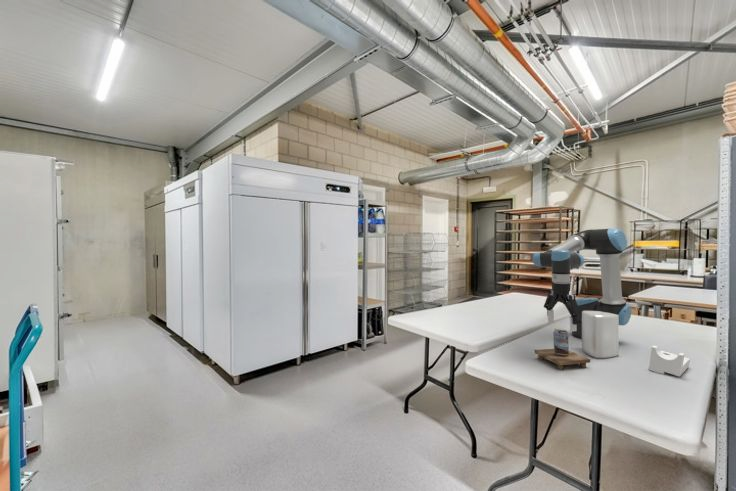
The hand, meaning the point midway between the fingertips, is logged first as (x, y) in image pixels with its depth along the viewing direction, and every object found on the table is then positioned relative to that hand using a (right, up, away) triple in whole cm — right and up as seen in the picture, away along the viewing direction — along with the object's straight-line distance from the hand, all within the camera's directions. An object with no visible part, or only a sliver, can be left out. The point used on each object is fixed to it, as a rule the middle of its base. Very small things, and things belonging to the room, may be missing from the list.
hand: (561, 327), depth 150 cm
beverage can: (0, -13, 0) cm, 13 cm away
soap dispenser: (+25, -17, +10) cm, 31 cm away
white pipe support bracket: (+43, -17, -8) cm, 47 cm away
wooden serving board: (0, -17, 0) cm, 17 cm away
